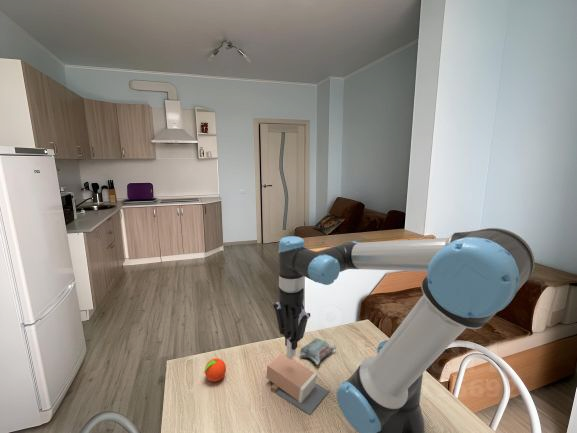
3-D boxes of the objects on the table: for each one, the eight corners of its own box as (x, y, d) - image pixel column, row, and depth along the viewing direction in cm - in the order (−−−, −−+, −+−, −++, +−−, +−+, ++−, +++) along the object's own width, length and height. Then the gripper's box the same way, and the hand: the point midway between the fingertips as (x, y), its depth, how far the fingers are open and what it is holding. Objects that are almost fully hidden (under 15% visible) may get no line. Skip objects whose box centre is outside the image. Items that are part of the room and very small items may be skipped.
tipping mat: (329, 391, 94) (329, 387, 93) (309, 415, 85) (309, 410, 85) (291, 371, 103) (291, 367, 102) (270, 390, 94) (270, 386, 94)
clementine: (210, 391, 94) (209, 372, 92) (198, 381, 98) (197, 362, 97) (230, 377, 100) (229, 359, 98) (218, 368, 104) (217, 350, 103)
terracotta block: (281, 364, 103) (315, 386, 95) (266, 377, 97) (301, 403, 89) (282, 352, 101) (317, 374, 94) (267, 365, 95) (303, 390, 87)
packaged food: (336, 353, 112) (336, 341, 111) (317, 369, 104) (317, 357, 103) (317, 344, 118) (317, 332, 117) (298, 358, 109) (298, 346, 108)
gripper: (316, 289, 88) (314, 358, 93) (282, 278, 96) (282, 342, 101) (301, 298, 82) (301, 372, 87) (267, 286, 90) (268, 354, 95)
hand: (291, 356), depth 94 cm, fingers closed
